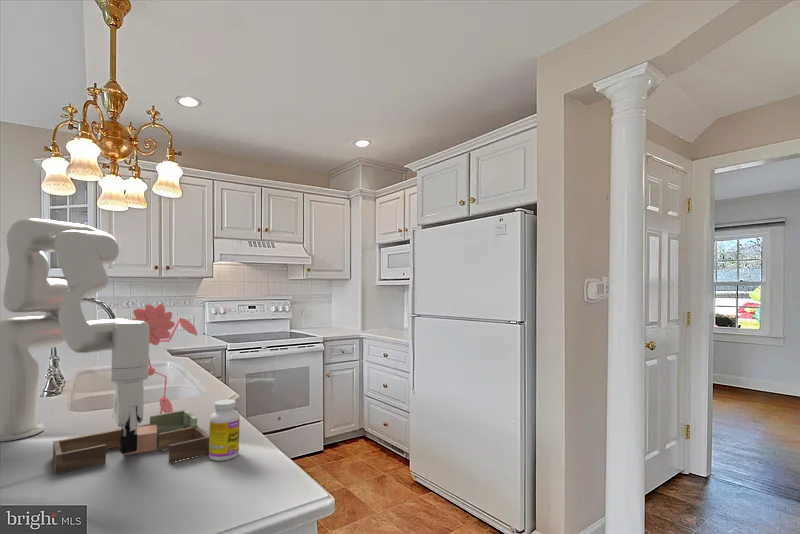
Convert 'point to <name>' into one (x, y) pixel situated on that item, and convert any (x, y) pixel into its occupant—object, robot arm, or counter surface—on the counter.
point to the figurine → (160, 336)
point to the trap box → (91, 449)
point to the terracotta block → (146, 439)
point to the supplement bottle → (224, 431)
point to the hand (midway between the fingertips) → (128, 451)
